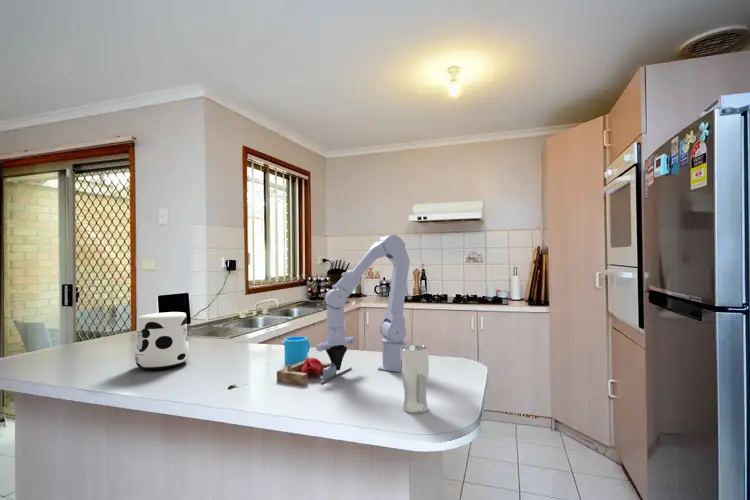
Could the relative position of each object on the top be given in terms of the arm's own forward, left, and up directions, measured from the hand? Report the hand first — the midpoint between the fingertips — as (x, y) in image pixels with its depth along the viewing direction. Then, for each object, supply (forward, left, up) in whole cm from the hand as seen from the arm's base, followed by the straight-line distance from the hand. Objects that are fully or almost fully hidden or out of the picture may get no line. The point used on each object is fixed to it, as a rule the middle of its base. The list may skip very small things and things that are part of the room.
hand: (336, 369), depth 129 cm
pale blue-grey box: (0, +4, -1) cm, 4 cm away
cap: (+6, +5, -2) cm, 8 cm away
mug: (+22, -10, -2) cm, 24 cm away
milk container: (+62, +16, -2) cm, 64 cm away
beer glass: (-34, +16, -2) cm, 38 cm away
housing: (+6, +3, -1) cm, 7 cm away
